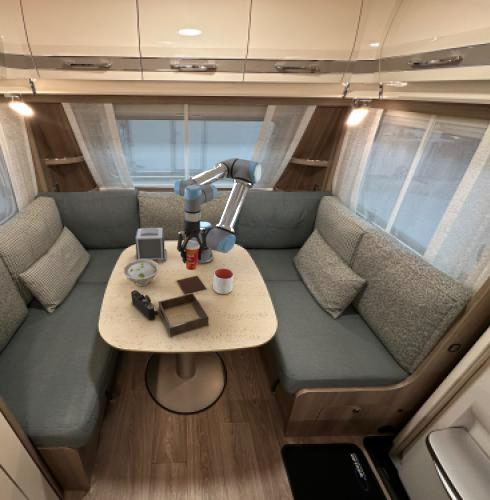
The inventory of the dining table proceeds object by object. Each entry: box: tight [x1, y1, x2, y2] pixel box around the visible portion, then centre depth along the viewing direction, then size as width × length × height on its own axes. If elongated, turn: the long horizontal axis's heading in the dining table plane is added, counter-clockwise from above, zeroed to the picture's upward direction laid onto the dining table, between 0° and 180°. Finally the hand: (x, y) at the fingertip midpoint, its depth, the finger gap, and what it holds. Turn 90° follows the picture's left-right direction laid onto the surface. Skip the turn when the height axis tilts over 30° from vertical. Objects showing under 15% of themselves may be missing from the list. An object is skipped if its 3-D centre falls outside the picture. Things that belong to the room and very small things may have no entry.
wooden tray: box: [157, 292, 209, 337], centre depth 121 cm, size 18×18×5 cm
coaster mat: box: [177, 275, 207, 295], centre depth 144 cm, size 12×12×1 cm
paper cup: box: [185, 239, 200, 271], centre depth 134 cm, size 8×8×14 cm
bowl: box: [122, 259, 160, 287], centre depth 143 cm, size 19×19×10 cm
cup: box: [212, 267, 235, 295], centre depth 138 cm, size 10×10×10 cm
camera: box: [130, 289, 159, 321], centre depth 125 cm, size 16×7×8 cm, turn 42°
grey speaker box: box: [134, 227, 167, 262], centre depth 165 cm, size 18×13×18 cm
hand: (191, 260), depth 136 cm, fingers closed on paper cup, 8 cm apart
